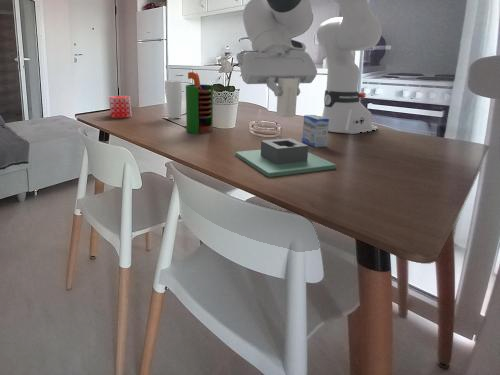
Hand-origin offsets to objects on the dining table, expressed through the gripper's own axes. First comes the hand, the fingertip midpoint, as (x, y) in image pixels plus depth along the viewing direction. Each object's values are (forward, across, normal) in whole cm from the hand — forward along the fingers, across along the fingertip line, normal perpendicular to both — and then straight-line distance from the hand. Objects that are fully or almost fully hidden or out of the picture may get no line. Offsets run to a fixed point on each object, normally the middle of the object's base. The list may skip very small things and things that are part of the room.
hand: (288, 94), depth 92 cm
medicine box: (+2, +19, +23) cm, 30 cm away
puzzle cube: (-48, -31, +73) cm, 93 cm away
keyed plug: (+3, 0, +4) cm, 5 cm away
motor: (-20, -9, +45) cm, 50 cm away
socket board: (+12, 0, +13) cm, 17 cm away
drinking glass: (-40, -11, +65) cm, 77 cm away
